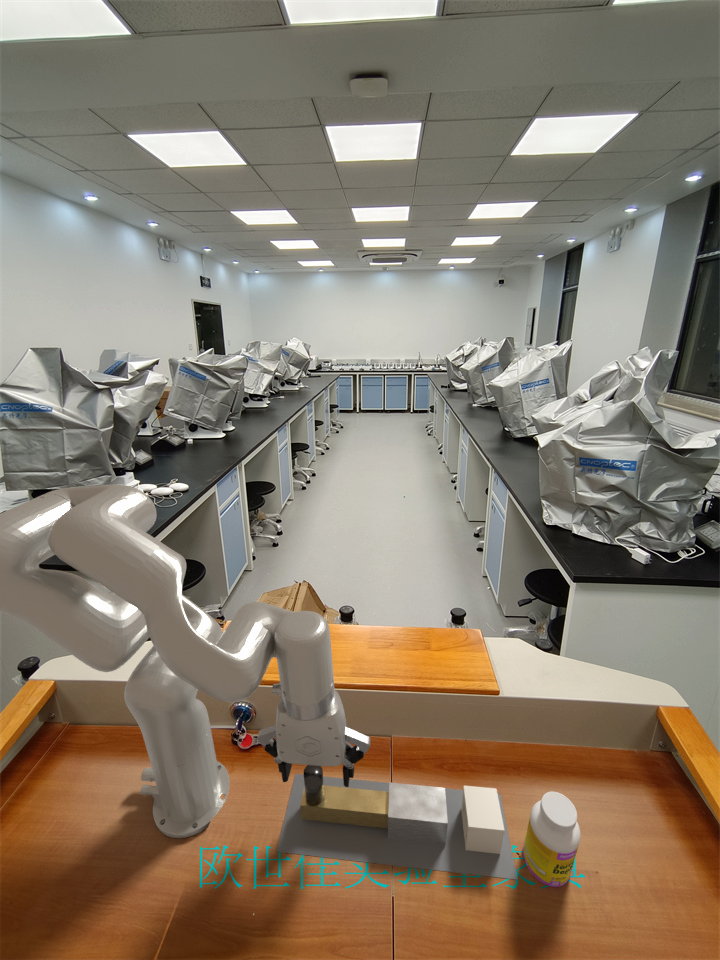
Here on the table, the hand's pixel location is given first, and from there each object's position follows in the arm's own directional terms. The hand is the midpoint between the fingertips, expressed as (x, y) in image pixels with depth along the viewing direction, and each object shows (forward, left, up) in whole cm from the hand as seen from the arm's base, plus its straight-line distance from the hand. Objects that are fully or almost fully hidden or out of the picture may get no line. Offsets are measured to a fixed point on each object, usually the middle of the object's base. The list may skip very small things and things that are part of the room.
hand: (317, 775), depth 67 cm
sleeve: (+16, 0, -9) cm, 18 cm away
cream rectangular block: (+26, 0, -9) cm, 28 cm away
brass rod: (+8, 0, -9) cm, 12 cm away
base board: (+12, 0, -10) cm, 16 cm away
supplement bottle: (+35, -3, -11) cm, 37 cm away
